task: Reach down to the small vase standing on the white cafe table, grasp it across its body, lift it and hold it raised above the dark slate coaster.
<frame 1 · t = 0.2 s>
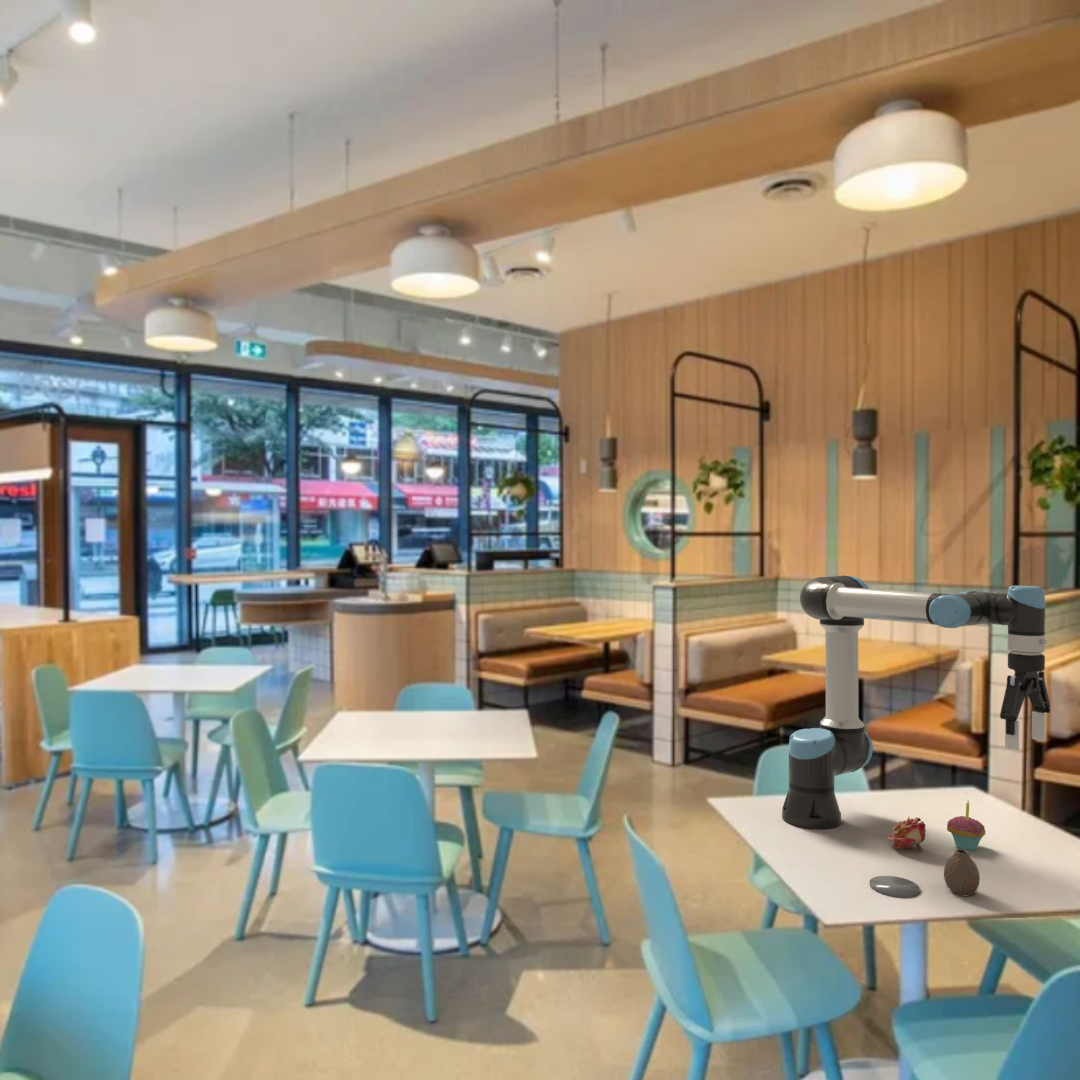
hand: (1025, 744, 204), 28 cm above the table, fingers open, 13 cm apart
flower: (906, 849, 214), on the table
vase: (961, 893, 188), on the table
cupcake: (965, 847, 215), on the table
coaster: (894, 887, 190), on the table
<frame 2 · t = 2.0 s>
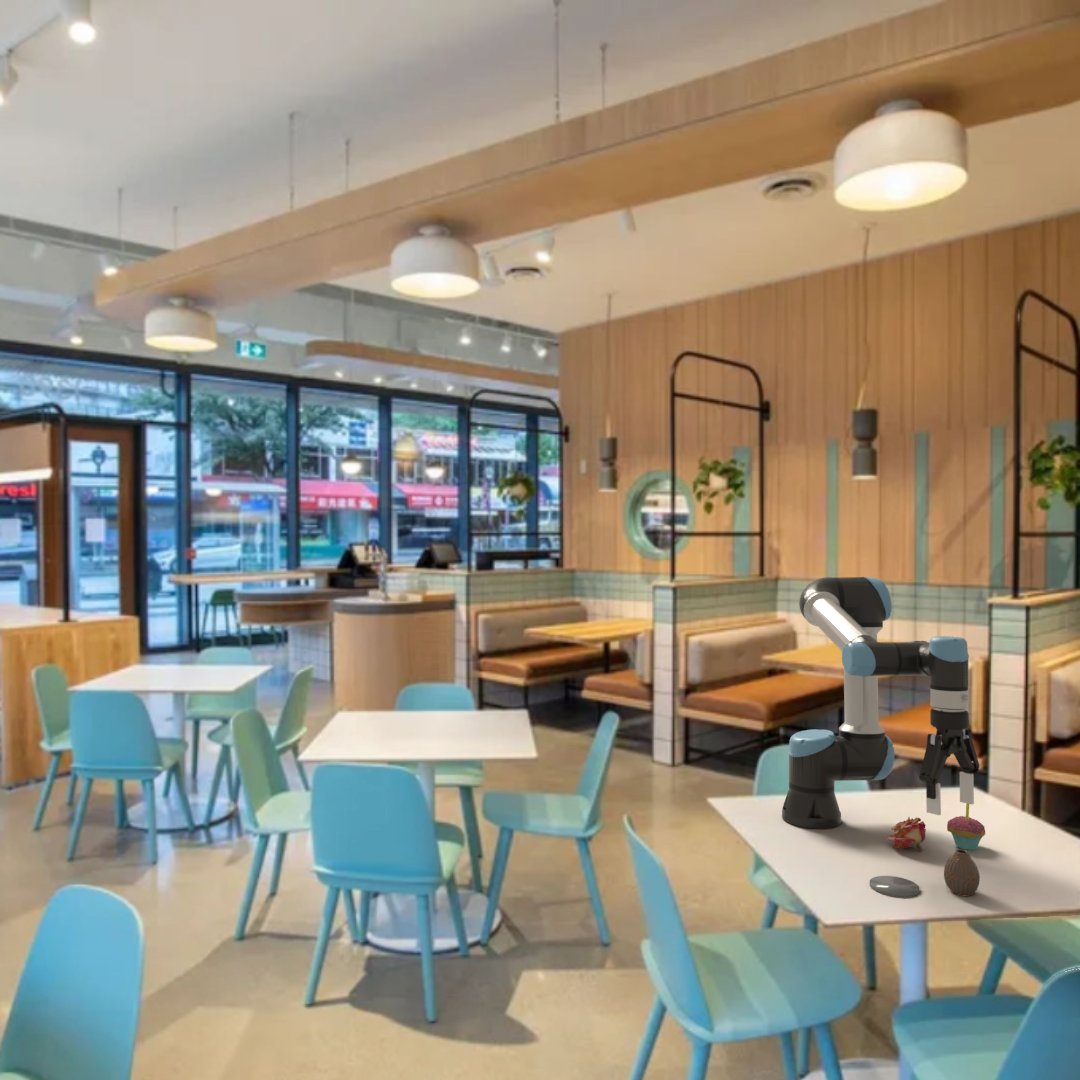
hand: (950, 808, 189), 18 cm above the table, fingers open, 13 cm apart
nothing on the table moved.
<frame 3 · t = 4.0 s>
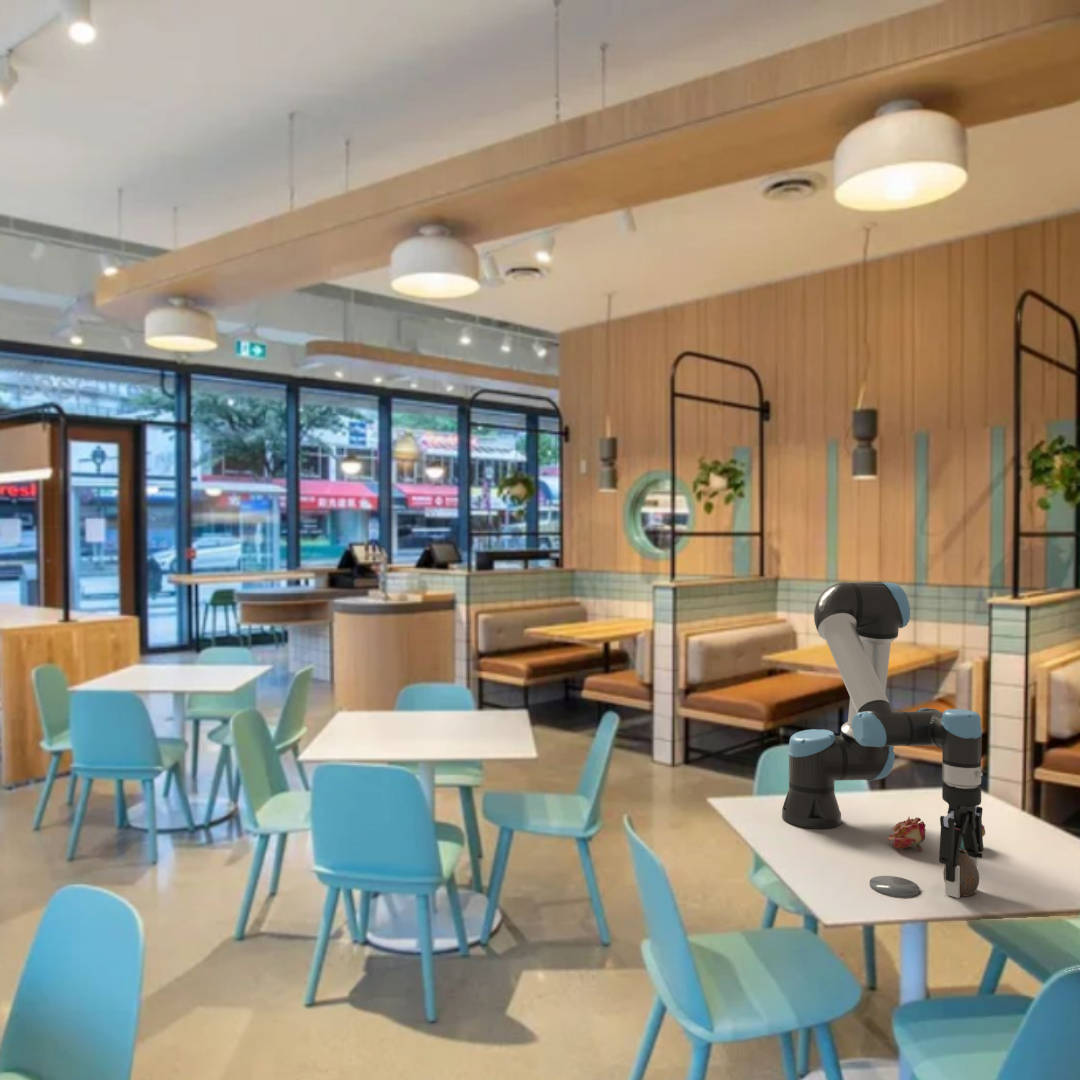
hand: (961, 891, 188), 0 cm above the table, fingers closed on vase, 7 cm apart
vase: (961, 893, 188), on the table, touching gripper
everything else where it was.
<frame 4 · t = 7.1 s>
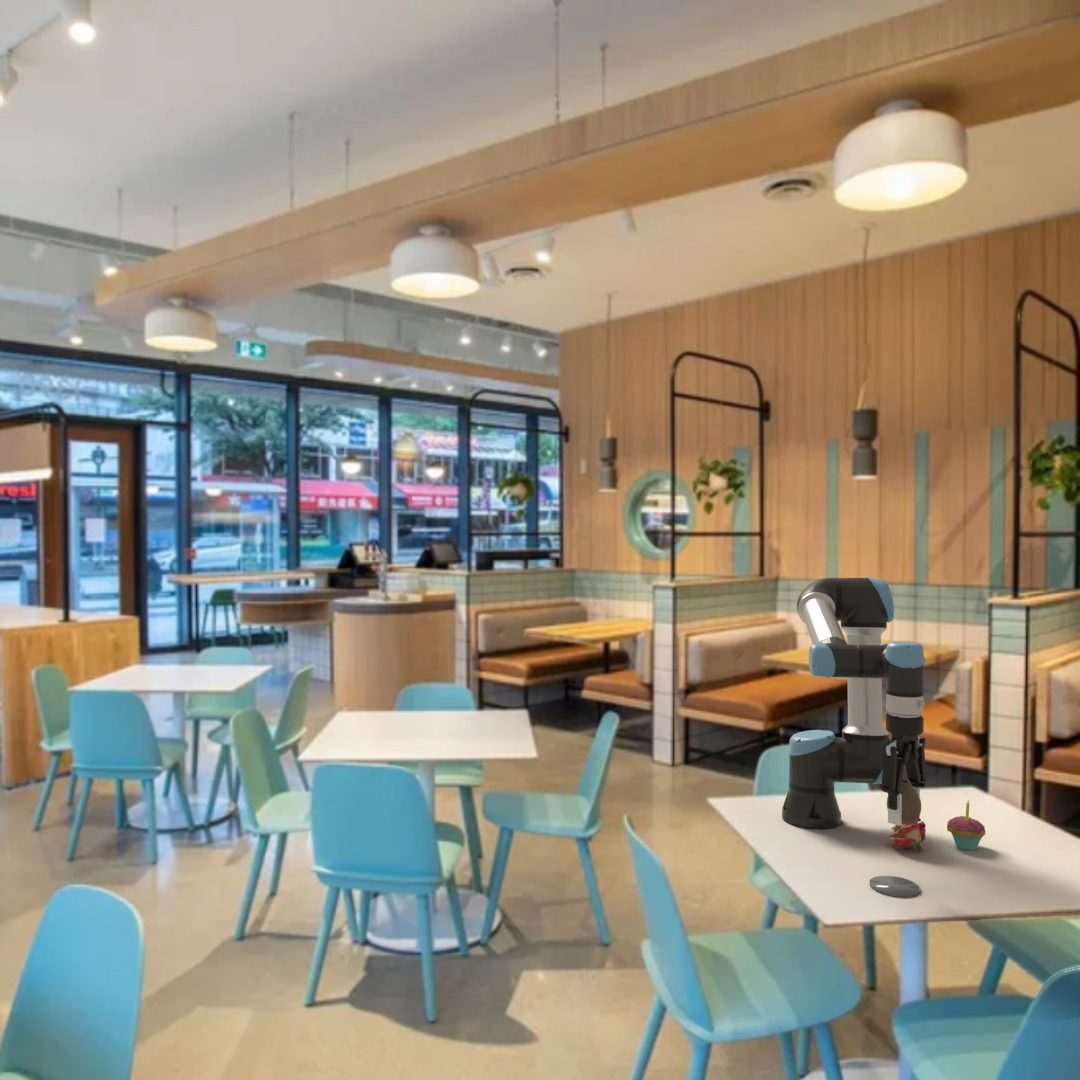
hand: (903, 819, 190), 15 cm above the table, fingers closed on vase, 7 cm apart
vase: (903, 822, 190), point 14 cm above the table, touching gripper
everything else where it was.
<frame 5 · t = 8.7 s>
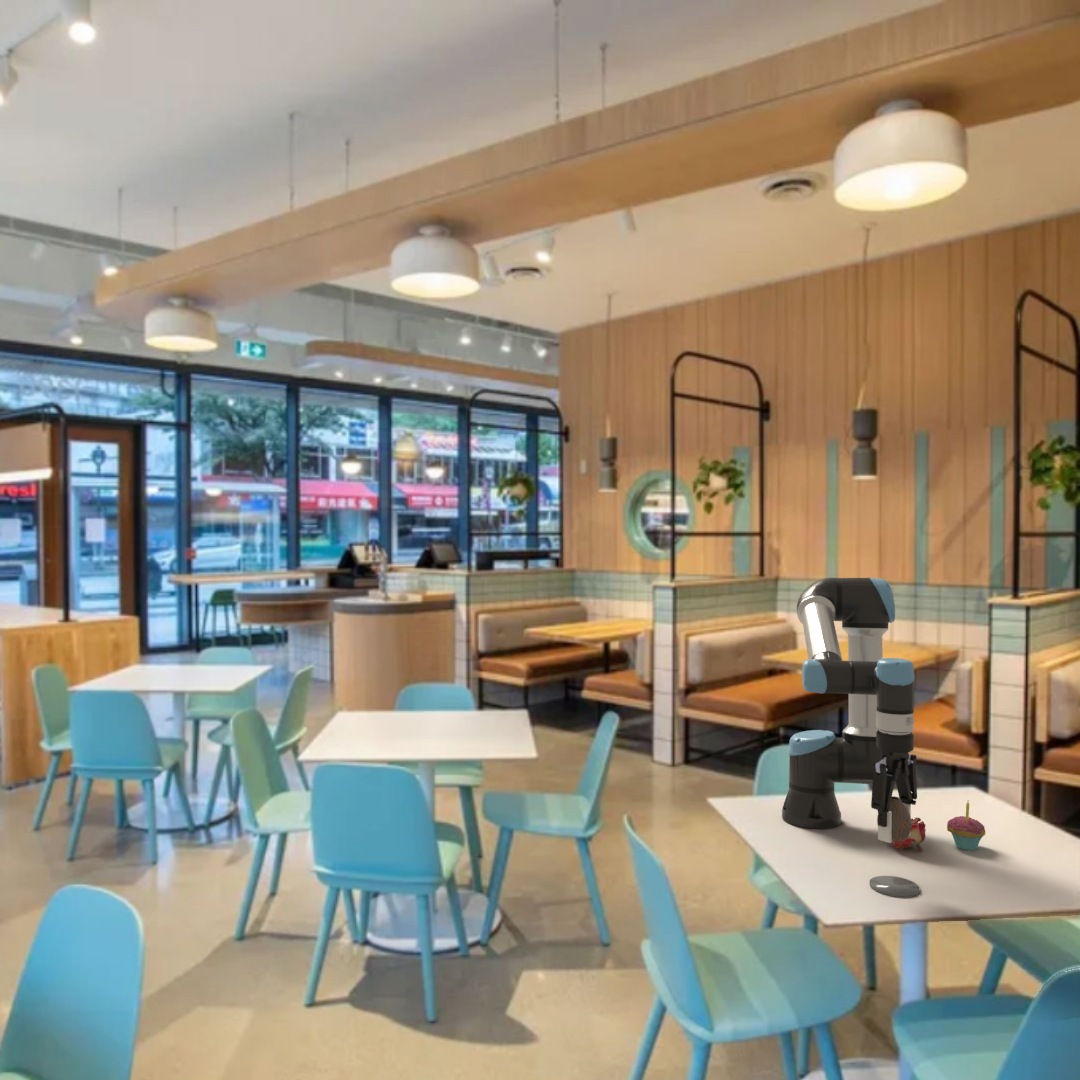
hand: (894, 836, 190), 11 cm above the table, fingers closed on vase, 7 cm apart
vase: (894, 839, 190), point 10 cm above the table, touching gripper
everything else where it was.
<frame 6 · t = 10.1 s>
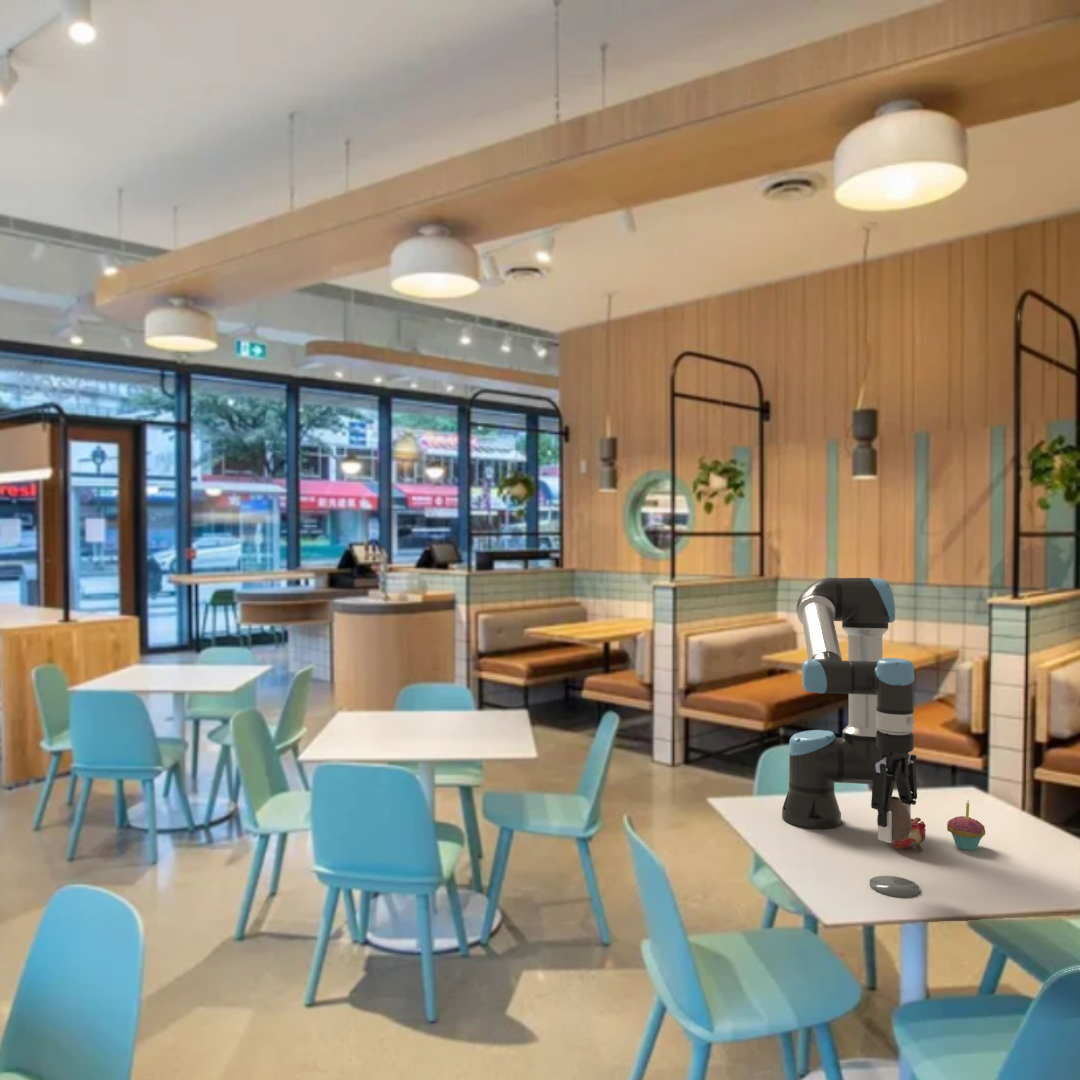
hand: (894, 836, 190), 11 cm above the table, fingers closed on vase, 7 cm apart
vase: (894, 839, 190), point 10 cm above the table, touching gripper
everything else where it was.
at the end: the gripper is holding vase; vase point 10.5 cm above the table; vase 0.1 cm from the coaster (horizontally) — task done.
